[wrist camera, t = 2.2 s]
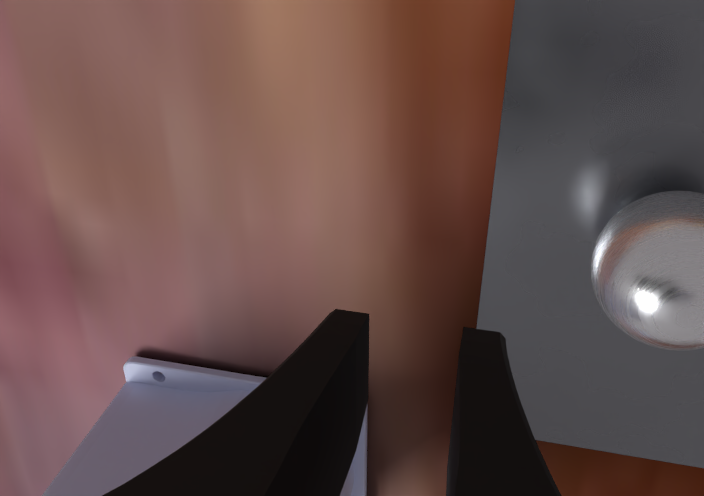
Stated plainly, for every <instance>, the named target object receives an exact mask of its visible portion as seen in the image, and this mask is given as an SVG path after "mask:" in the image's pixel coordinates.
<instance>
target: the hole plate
mask: <svg viewBox="0 0 704 496" xmlns="http://www.w3.org/2000/svg"><path fill="white" fill-rule="evenodd" d="M665 191H691V192H698V193H702V194H704V0H515V7H514V16H513V24H512V33H511V41H510V50H509V58H508V66H507V75H506V83H505V92H504V100H503V109H502V117H501V125H500V134H499V142H498V151H497V159H496V168H495V176H494V184H493V193H492V201H491V210H490V218H489V227H488V235H487V243H486V252H485V260H484V269H483V277H482V285H481V294H480V302H479V311H478V319H477V328H476V329H482V330H489V331H496V332H500V333H501V334H502V335H503V336H504V337H505V338H506V348H507V354H508V359H509V364H510V368H511V372H512V375H513V379H514V382H515V386H516V389H517V392H518V395H519V398H520V401H521V404H522V407H523V409H524V412H525V415H526V417H527V420H528V423H529V425H530V428H531V431H532V433H533V436H534V438H535V440H540V441H545V442H551V443H557V444H563V445H569V446H575V447H581V448H587V449H593V450H599V451H605V452H611V453H617V454H622V455H628V456H634V457H640V458H646V459H652V460H658V461H664V462H670V463H676V464H682V465H688V466H694V467H700V468H704V348H700V349H695V350H679V351H676V350H666V349H661V348H657V347H653V346H650V345H647V344H645V343H642V342H640V341H637V340H636V339H634V338H632V337H630V336H629V335H627V334H626V333H625V332H623V331H622V330H621V329H619V328H618V327H617V326H616V325H615V324H614V323H613V322H612V321H611V320H610V319H609V317H608V316H607V315H606V314H605V312H604V311H603V309H602V307H601V306H600V304H599V302H598V300H597V298H596V295H595V292H594V289H593V285H592V279H591V260H592V254H593V250H594V247H595V244H596V241H597V239H598V237H599V235H600V233H601V232H602V230H603V229H604V227H605V226H606V224H607V223H608V222H609V221H610V219H611V218H612V217H613V216H614V215H615V214H617V213H618V212H619V211H620V210H621V209H623V208H624V207H626V206H627V205H629V204H630V203H632V202H634V201H636V200H638V199H640V198H643V197H645V196H648V195H651V194H655V193H659V192H665Z"/></svg>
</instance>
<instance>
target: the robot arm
mask: <svg viewBox="0 0 704 496" xmlns="http://www.w3.org/2000/svg"><path fill="white" fill-rule="evenodd" d="M160 372H161V373H162V374H161V373H160ZM368 373H369V314H367V313H360V312H352V311H345V310H338V309H335V310H334V311H333V312H331V313H330V314H329V315H328V316H327V317H326V318H325V319H324V320H323V322H322V323H321V324H320V325H319V326H318V327H317V328H316V329H315V330H314V331H313V332H312V334H311V335H310V336H309V337H308V338H307V339H306V340H305V341H304V342H303V343H302V344H301V345H300V346H299V347H298V348H297V349H296V350H295V351H294V352H293V353H292V354H291V355H290V356H289V357H288V358H287V359H286V360H285V361H284V362H283V363H282V364H281V365H280V366H279V367H278V368H277V369H276V370H275V371H274V372H273V373H272V374H271V375H269V376H268V377H267V378H265V377H259V376H253V375H247V374H240V373H234V372H228V371H222V370H216V369H210V368H204V367H198V366H192V365H185V364H179V363H173V362H167V361H161V360H155V359H149V358H143V357H131V358H129V359H128V360H127V362H126V363H125V365H124V374H125V378H126V383H125V384H124V386H123V387H122V388H121V390H120V391H119V393H118V394H117V395H116V397H115V398H114V399H113V401H112V402H111V403H110V405H109V406H108V407H107V409H106V410H105V411H104V413H103V414H102V415H101V417H100V418H99V419H98V421H97V422H96V423H95V425H94V426H93V427H92V429H91V430H90V431H89V433H88V434H87V436H86V437H85V438H84V440H83V441H82V442H81V444H80V445H79V446H78V448H77V449H76V450H75V452H74V453H73V454H72V456H71V457H70V458H69V460H68V461H67V462H66V464H65V465H64V466H63V468H62V469H61V470H60V472H59V473H58V474H57V476H56V477H55V479H54V480H53V481H52V483H51V484H50V485H49V487H48V488H47V489H46V491H45V492H44V493H43V495H42V496H367V409H368V404H367V402H368ZM446 496H561V494H560V492H559V490H558V488H557V486H556V484H555V482H554V480H553V478H552V476H551V474H550V472H549V470H548V468H547V465H546V463H545V461H544V459H543V457H542V454H541V452H540V450H539V448H538V445H537V443H536V440H535V438H534V436H533V433H532V431H531V428H530V425H529V423H528V420H527V417H526V415H525V412H524V409H523V407H522V404H521V401H520V398H519V395H518V392H517V389H516V386H515V382H514V379H513V375H512V372H511V368H510V364H509V359H508V354H507V348H506V338H505V337H504V336H503V335H502V334H501V333H500V332H496V331H489V330H482V329H474V328H467V327H464V328H463V334H462V340H461V345H460V351H459V360H458V369H457V379H456V389H455V398H454V408H453V418H452V427H451V437H450V446H449V456H448V466H447V490H446Z"/></svg>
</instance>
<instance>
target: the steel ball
mask: <svg viewBox="0 0 704 496" xmlns="http://www.w3.org/2000/svg"><path fill="white" fill-rule="evenodd" d="M591 279H592V285H593V289H594V292H595V295H596V298H597V300H598V302H599V304H600V306H601V307H602V309H603V311H604V312H605V314H606V315H607V316H608V317H609V319H610V320H611V321H612V322H613V323H614V324H615V325H616V326H617V327H618V328H619V329H621V330H622V331H623V332H625V333H626V334H627V335H629V336H630V337H632V338H634V339H636V340H637V341H640V342H642V343H645V344H647V345H650V346H653V347H657V348H661V349H666V350H676V351H679V350H695V349H700V348H704V194H702V193H698V192H691V191H665V192H659V193H655V194H651V195H648V196H645V197H643V198H640V199H638V200H636V201H634V202H632V203H630V204H629V205H627V206H626V207H624V208H623V209H621V210H620V211H619V212H618V213H617V214H615V215H614V216H613V217H612V218H611V219H610V221H609V222H608V223H607V224H606V226H605V227H604V229H603V230H602V232H601V233H600V235H599V237H598V239H597V241H596V244H595V247H594V250H593V254H592V260H591Z"/></svg>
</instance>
